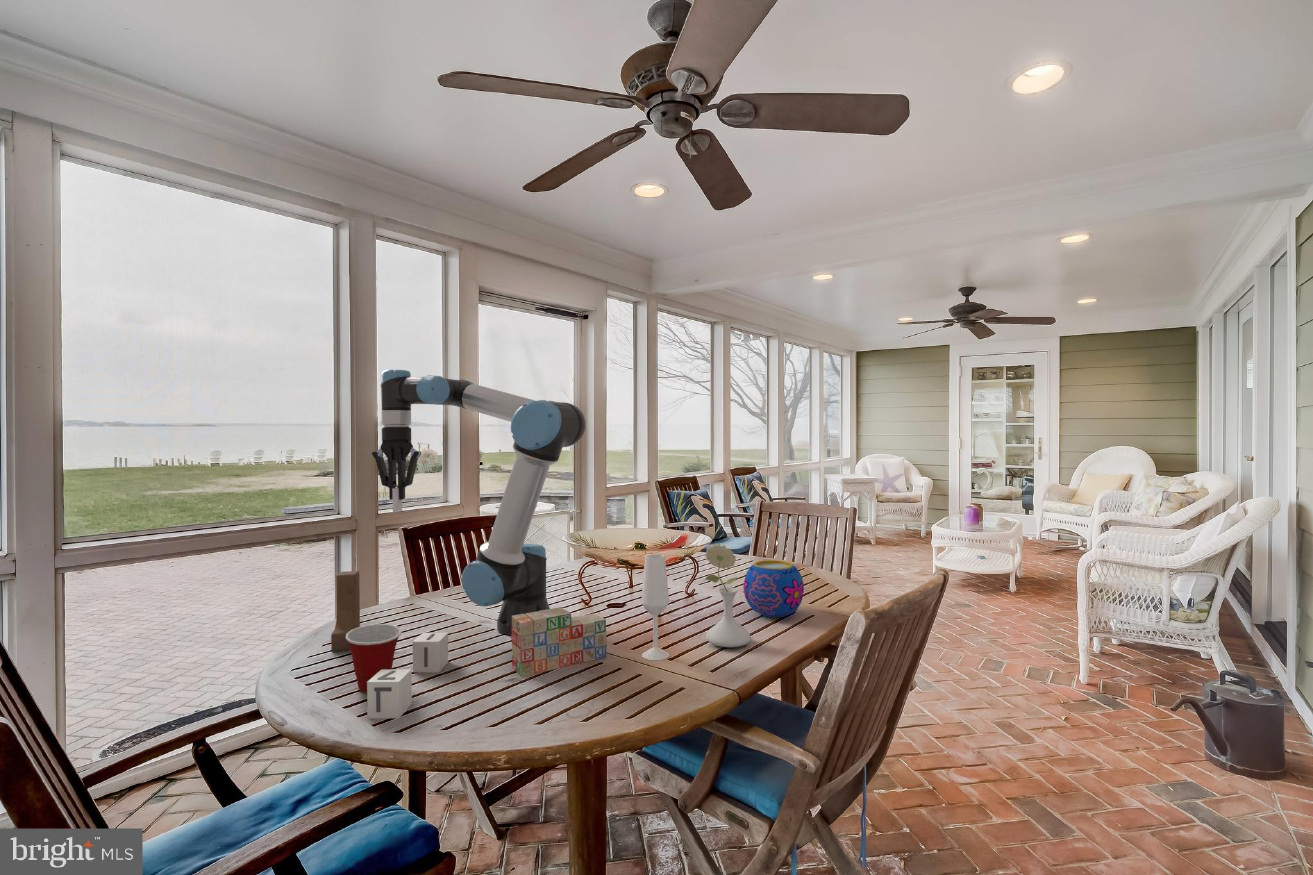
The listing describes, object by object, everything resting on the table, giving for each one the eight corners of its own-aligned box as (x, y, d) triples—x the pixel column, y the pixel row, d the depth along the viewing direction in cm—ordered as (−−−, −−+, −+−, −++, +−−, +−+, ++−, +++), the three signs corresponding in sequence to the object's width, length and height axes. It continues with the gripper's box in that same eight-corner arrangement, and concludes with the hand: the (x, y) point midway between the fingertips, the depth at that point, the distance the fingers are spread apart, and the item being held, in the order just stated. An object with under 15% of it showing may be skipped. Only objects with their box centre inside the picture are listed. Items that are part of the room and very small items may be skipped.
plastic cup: (365, 703, 122) (364, 643, 121) (335, 690, 127) (334, 633, 127) (412, 683, 131) (412, 628, 130) (383, 673, 137) (382, 620, 136)
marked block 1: (448, 662, 143) (448, 632, 143) (439, 672, 137) (438, 640, 137) (422, 662, 143) (422, 632, 143) (412, 672, 137) (412, 641, 137)
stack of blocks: (595, 650, 151) (595, 600, 151) (606, 657, 145) (606, 606, 145) (511, 668, 140) (511, 614, 139) (520, 677, 134) (520, 621, 134)
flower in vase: (759, 643, 155) (759, 545, 154) (733, 655, 146) (733, 551, 146) (718, 631, 163) (718, 539, 163) (691, 642, 155) (691, 545, 155)
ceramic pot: (812, 611, 181) (812, 561, 181) (793, 628, 166) (792, 573, 166) (756, 603, 190) (756, 555, 190) (734, 618, 175) (733, 566, 175)
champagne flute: (655, 648, 151) (655, 552, 151) (675, 654, 147) (674, 556, 146) (636, 655, 147) (635, 556, 146) (655, 662, 142) (654, 560, 142)
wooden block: (350, 650, 151) (349, 578, 151) (330, 652, 150) (330, 579, 150) (360, 638, 160) (359, 570, 160) (341, 639, 159) (341, 571, 159)
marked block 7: (411, 704, 121) (411, 668, 121) (398, 718, 115) (398, 681, 115) (381, 704, 121) (381, 668, 121) (367, 718, 115) (366, 681, 115)
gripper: (425, 426, 171) (426, 509, 171) (378, 426, 171) (379, 509, 171) (414, 426, 164) (415, 513, 164) (366, 426, 163) (367, 513, 164)
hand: (397, 511), depth 168 cm, fingers closed
